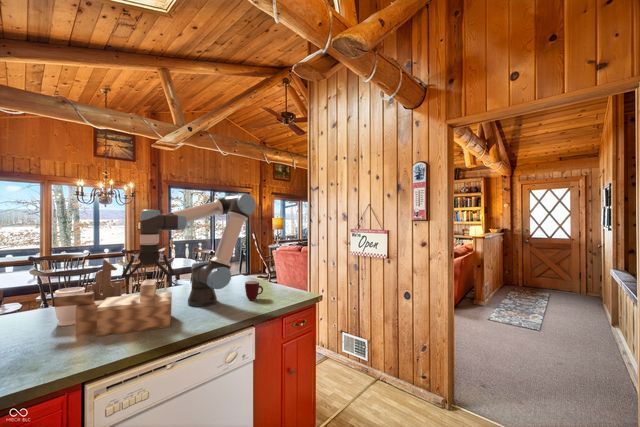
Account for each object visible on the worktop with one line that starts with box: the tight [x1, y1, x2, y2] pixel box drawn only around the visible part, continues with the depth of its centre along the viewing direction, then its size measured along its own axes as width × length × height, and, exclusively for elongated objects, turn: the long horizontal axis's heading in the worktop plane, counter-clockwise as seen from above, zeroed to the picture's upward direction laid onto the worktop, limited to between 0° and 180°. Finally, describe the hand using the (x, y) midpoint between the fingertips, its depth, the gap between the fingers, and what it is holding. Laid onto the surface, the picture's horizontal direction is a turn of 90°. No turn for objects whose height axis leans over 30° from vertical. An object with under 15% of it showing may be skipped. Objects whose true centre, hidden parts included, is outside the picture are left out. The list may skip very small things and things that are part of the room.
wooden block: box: [53, 291, 95, 308], centre depth 120 cm, size 12×4×4 cm, turn 115°
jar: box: [54, 286, 86, 327], centre depth 131 cm, size 11×10×15 cm
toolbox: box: [74, 295, 173, 337], centre depth 128 cm, size 34×16×12 cm, turn 115°
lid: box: [97, 278, 173, 311], centre depth 130 cm, size 26×16×8 cm, turn 115°
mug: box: [244, 280, 264, 301], centre depth 172 cm, size 10×8×10 cm
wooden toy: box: [89, 258, 123, 301], centre depth 155 cm, size 16×7×25 cm, turn 121°
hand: (148, 291), depth 131 cm, fingers open, 13 cm apart
